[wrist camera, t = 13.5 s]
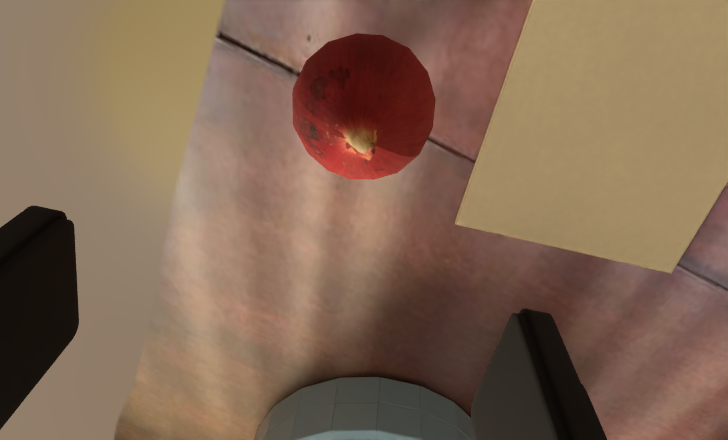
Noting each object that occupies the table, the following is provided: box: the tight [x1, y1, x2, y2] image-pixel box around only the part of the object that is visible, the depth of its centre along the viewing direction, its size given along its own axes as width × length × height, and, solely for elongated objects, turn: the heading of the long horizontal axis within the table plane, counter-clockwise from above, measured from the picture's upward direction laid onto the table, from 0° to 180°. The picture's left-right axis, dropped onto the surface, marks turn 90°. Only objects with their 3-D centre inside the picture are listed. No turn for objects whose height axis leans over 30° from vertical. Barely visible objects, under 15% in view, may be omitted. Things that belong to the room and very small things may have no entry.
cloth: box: [455, 0, 728, 273], centre depth 25 cm, size 12×14×1 cm
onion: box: [293, 33, 435, 179], centre depth 21 cm, size 6×6×8 cm
